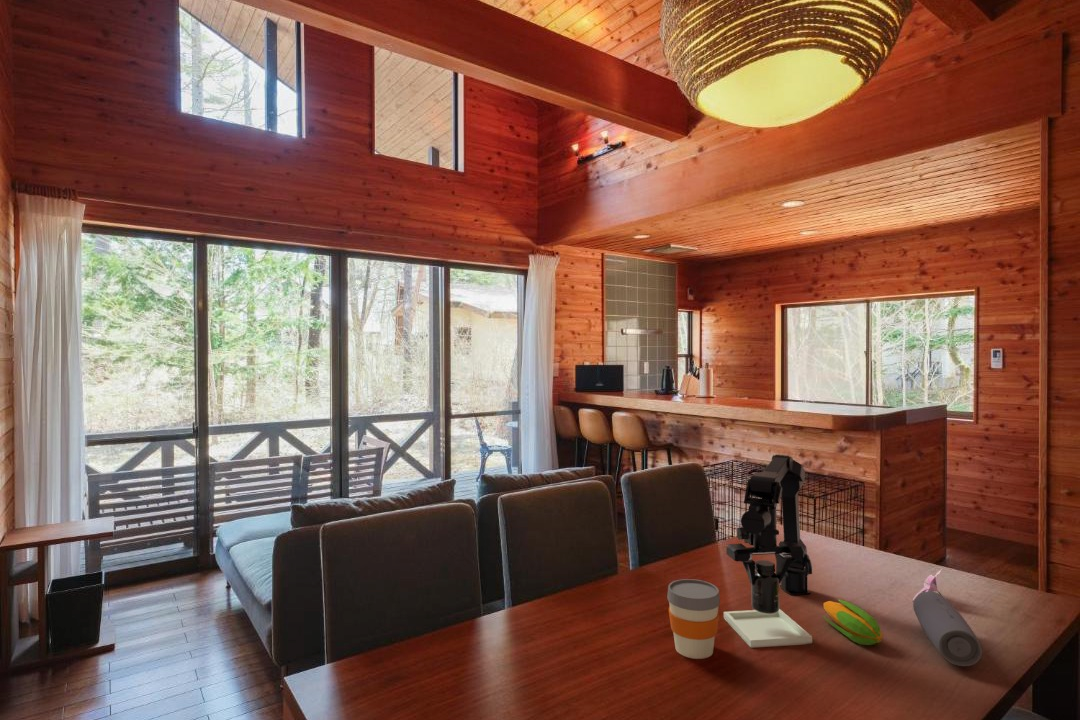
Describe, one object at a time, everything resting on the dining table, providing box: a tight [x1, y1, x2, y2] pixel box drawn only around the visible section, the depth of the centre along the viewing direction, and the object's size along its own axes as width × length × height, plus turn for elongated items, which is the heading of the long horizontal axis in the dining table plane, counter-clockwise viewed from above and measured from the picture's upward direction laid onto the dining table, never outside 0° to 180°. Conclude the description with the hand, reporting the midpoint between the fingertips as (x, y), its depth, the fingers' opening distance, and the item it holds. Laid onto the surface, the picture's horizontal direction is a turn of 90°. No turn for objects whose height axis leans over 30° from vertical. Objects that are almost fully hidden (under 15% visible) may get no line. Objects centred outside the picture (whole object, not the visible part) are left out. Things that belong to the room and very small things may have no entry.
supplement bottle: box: [750, 559, 780, 614], centre depth 151 cm, size 7×7×12 cm
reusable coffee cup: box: [666, 578, 721, 660], centre depth 141 cm, size 13×13×15 cm
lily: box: [912, 568, 943, 601], centre depth 167 cm, size 12×12×10 cm
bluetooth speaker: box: [912, 591, 983, 667], centre depth 140 cm, size 23×9×10 cm, turn 160°
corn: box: [822, 599, 884, 646], centre depth 149 cm, size 7×8×20 cm
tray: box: [723, 608, 813, 649], centre depth 151 cm, size 16×16×2 cm
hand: (765, 583), depth 151 cm, fingers closed on supplement bottle, 7 cm apart
